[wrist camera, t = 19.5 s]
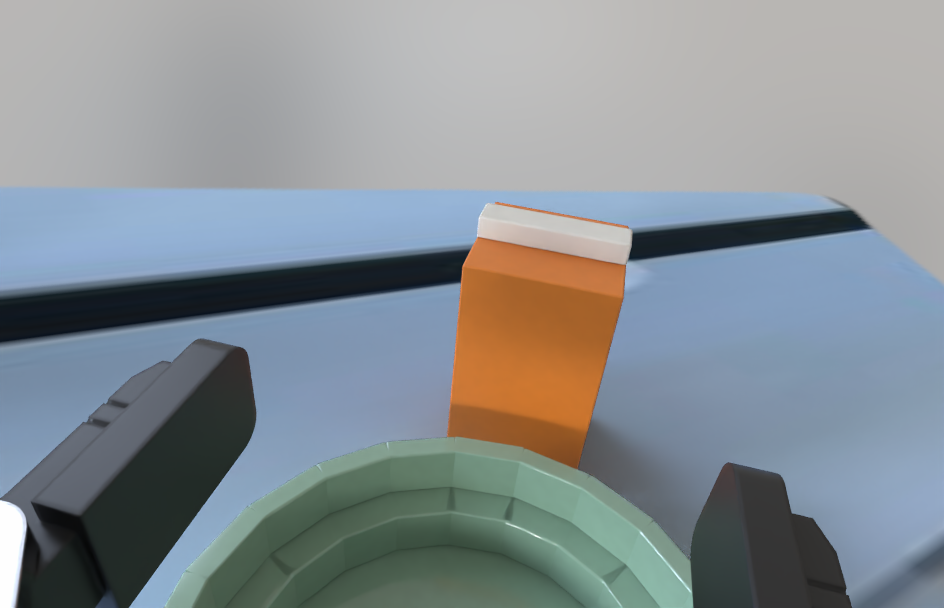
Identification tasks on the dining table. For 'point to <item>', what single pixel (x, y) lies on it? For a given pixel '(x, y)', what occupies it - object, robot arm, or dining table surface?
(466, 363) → the carton
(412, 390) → the dining table surface
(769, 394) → the dining table surface
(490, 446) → the bowl
